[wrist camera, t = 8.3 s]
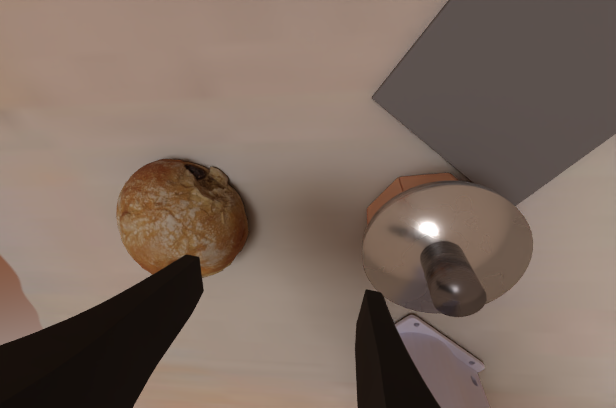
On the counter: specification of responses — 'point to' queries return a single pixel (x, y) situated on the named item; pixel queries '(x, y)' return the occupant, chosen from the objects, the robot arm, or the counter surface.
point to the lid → (446, 247)
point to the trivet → (510, 88)
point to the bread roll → (181, 216)
